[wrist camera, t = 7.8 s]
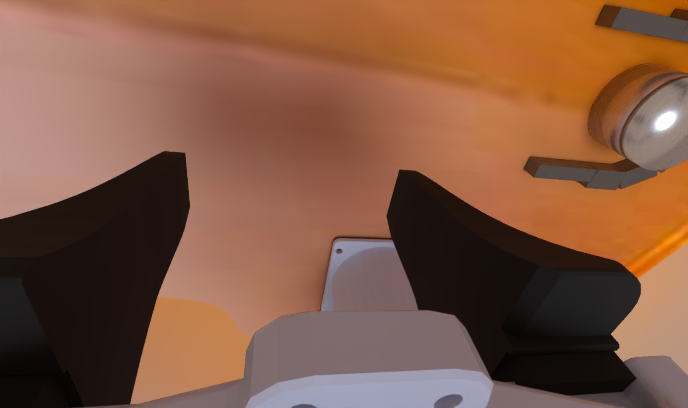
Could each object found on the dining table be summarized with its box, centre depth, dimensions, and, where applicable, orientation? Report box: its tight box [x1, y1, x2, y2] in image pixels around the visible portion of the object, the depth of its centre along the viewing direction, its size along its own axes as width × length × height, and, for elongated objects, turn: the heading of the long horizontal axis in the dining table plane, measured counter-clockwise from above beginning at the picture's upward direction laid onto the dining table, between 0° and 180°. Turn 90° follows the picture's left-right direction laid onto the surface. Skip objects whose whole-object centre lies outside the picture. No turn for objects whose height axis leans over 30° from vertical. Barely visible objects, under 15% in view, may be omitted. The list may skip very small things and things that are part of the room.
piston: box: [588, 64, 688, 170], centre depth 22 cm, size 6×6×4 cm
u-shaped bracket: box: [524, 5, 688, 190], centre depth 24 cm, size 12×12×1 cm
